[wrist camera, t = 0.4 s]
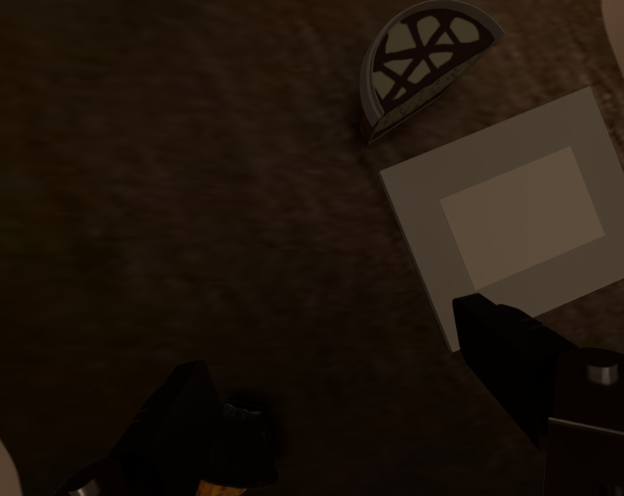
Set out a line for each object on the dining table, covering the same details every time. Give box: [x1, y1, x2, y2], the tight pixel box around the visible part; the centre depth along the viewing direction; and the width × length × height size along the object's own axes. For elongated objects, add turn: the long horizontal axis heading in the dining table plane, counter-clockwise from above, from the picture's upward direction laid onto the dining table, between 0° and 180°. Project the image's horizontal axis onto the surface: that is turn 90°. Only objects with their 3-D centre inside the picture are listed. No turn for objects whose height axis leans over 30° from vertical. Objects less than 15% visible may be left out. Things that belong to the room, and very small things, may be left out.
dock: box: [377, 86, 624, 352], centre depth 35 cm, size 20×24×1 cm
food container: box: [358, 0, 505, 146], centre depth 30 cm, size 12×6×10 cm, turn 124°
